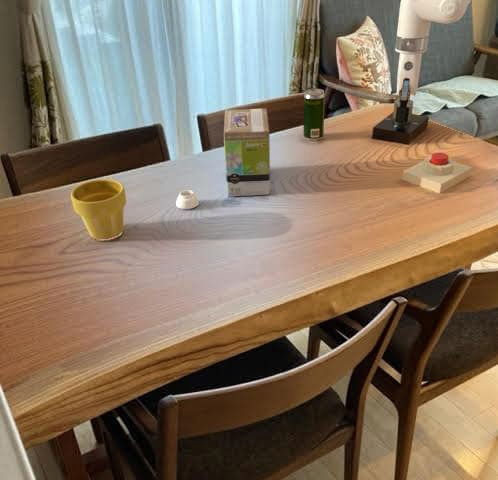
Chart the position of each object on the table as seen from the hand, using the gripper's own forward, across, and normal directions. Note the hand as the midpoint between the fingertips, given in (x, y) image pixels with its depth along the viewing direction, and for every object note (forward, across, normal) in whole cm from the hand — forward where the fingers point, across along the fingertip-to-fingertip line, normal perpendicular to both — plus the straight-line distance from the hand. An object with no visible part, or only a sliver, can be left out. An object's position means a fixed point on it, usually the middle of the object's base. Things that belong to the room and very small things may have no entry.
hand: (401, 118), depth 143 cm
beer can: (+4, -6, +22) cm, 24 cm away
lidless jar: (+4, -49, +43) cm, 66 cm away
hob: (+4, 0, 0) cm, 4 cm away
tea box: (+4, -36, +33) cm, 49 cm away
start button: (0, -27, -10) cm, 29 cm away
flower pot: (+4, -64, +55) cm, 85 cm away
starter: (+4, -27, -10) cm, 29 cm away
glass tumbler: (+1, 0, 0) cm, 1 cm away
